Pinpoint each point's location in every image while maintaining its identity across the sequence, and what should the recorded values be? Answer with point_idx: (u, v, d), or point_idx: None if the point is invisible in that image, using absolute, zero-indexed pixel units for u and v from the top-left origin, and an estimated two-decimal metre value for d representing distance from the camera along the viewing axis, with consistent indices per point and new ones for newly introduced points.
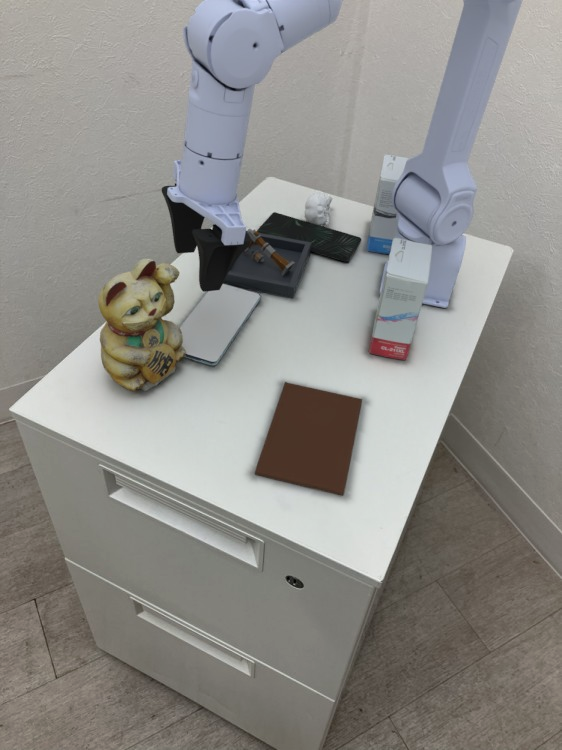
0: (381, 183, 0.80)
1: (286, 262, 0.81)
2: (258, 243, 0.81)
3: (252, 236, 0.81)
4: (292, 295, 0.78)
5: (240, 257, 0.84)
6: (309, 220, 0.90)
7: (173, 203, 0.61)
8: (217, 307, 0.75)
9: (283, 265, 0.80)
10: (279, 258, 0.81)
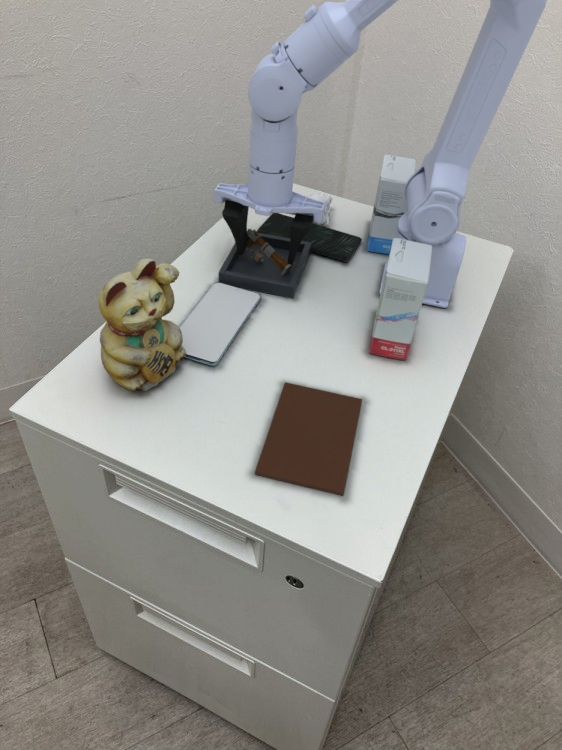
0: (381, 183, 0.80)
1: (286, 262, 0.81)
2: (258, 243, 0.81)
3: (252, 236, 0.81)
4: (292, 295, 0.78)
5: (240, 257, 0.84)
6: None
7: (239, 220, 0.76)
8: (217, 307, 0.75)
9: (283, 265, 0.80)
10: (279, 258, 0.81)
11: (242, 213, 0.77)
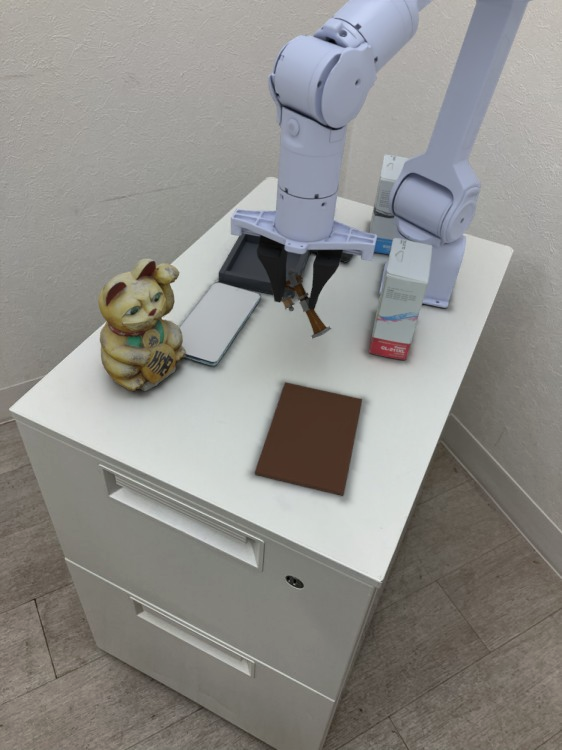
0: (381, 183, 0.80)
1: (322, 325, 0.64)
2: (296, 290, 0.63)
3: (292, 279, 0.63)
4: (292, 295, 0.78)
5: (240, 257, 0.84)
6: None
7: (279, 260, 0.58)
8: (217, 307, 0.75)
9: (318, 328, 0.64)
10: (316, 317, 0.64)
11: (282, 251, 0.59)
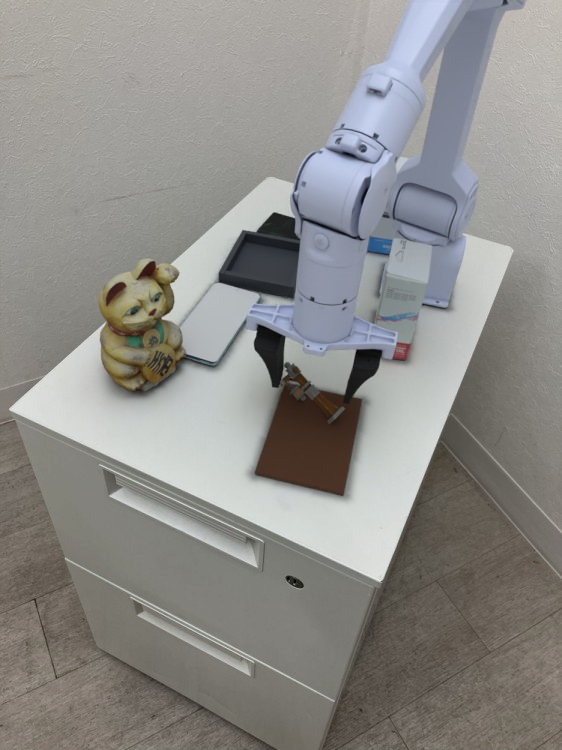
0: None
1: (334, 408, 0.61)
2: (298, 381, 0.62)
3: (290, 372, 0.62)
4: (292, 295, 0.78)
5: (240, 257, 0.84)
6: None
7: (277, 352, 0.56)
8: (217, 307, 0.75)
9: (330, 413, 0.61)
10: (325, 402, 0.62)
11: (280, 342, 0.57)
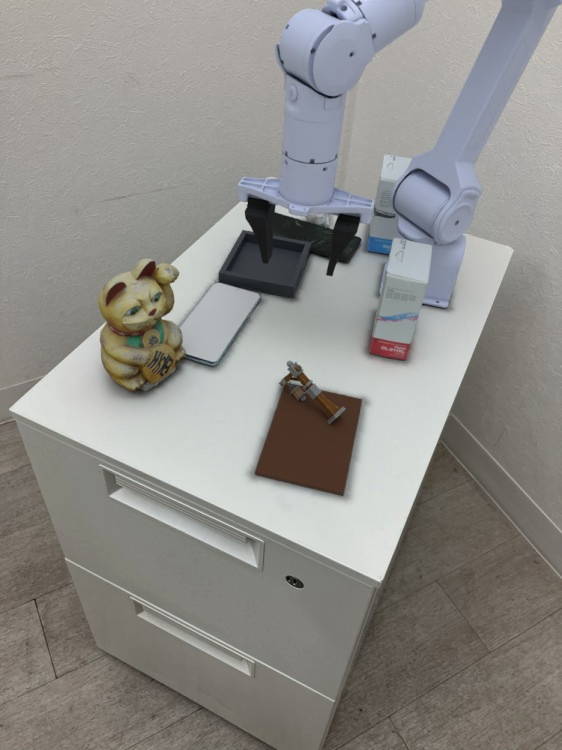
0: (381, 183, 0.80)
1: (335, 408, 0.62)
2: (300, 380, 0.62)
3: (292, 371, 0.62)
4: (292, 295, 0.78)
5: (240, 257, 0.84)
6: (309, 220, 0.90)
7: (266, 221, 0.62)
8: (217, 307, 0.75)
9: (331, 412, 0.61)
10: (326, 402, 0.62)
11: (269, 213, 0.63)
